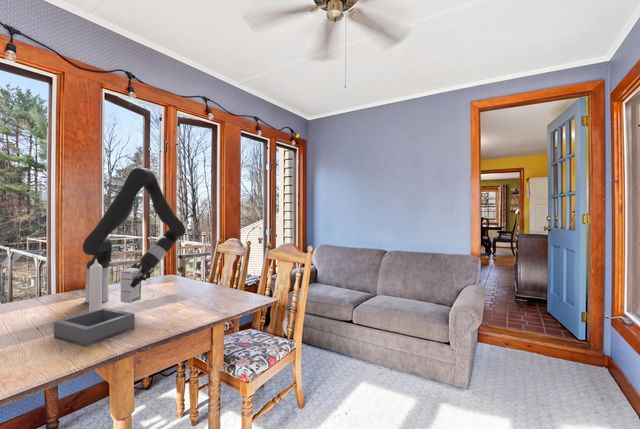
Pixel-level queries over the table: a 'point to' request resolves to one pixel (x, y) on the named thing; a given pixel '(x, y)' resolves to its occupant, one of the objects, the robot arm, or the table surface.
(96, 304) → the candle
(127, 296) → the syrup box
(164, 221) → the robot arm
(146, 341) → the table surface
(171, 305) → the table surface
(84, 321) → the box
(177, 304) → the table surface
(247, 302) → the table surface
